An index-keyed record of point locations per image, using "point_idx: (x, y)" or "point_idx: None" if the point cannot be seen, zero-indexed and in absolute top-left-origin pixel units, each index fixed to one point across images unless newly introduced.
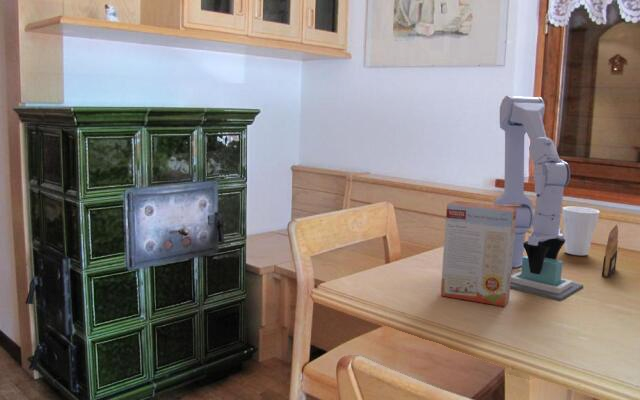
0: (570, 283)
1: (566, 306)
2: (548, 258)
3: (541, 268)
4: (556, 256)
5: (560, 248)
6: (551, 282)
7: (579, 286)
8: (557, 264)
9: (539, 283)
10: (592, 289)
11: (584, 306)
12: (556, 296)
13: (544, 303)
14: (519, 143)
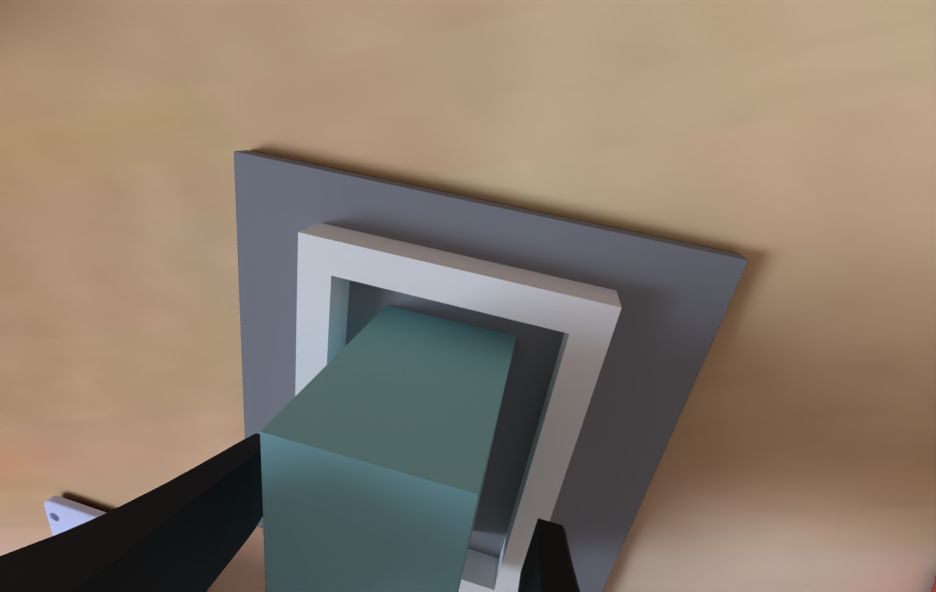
0: (356, 242)
1: (904, 182)
2: (275, 560)
3: (549, 565)
4: (154, 502)
5: (2, 561)
6: (505, 383)
7: (293, 171)
8: (442, 475)
9: (560, 453)
10: (236, 69)
11: (820, 25)
12: (714, 297)
13: (890, 355)
14: None
